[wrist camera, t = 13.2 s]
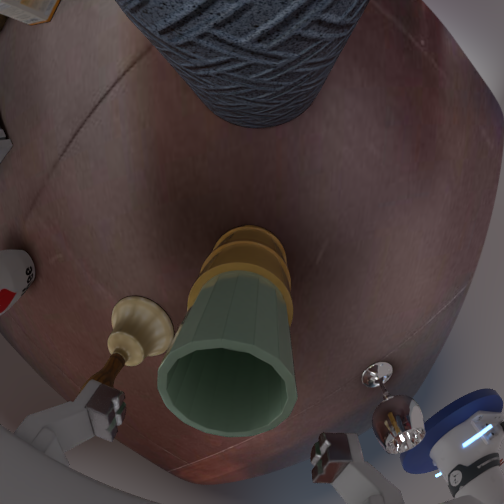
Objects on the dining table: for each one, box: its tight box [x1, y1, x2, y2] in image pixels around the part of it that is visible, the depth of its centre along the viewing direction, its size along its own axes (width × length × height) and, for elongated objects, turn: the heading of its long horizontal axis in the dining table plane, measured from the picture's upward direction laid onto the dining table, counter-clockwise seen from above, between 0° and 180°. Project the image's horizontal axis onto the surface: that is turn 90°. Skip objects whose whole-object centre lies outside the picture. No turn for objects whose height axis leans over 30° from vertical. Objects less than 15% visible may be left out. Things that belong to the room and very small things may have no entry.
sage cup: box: [158, 270, 298, 437], centre depth 16 cm, size 6×6×8 cm
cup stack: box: [187, 225, 293, 326], centre depth 25 cm, size 8×8×11 cm
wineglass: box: [361, 362, 426, 454], centre depth 28 cm, size 6×6×12 cm
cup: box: [0, 249, 35, 316], centre depth 27 cm, size 8×8×10 cm
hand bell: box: [79, 296, 174, 394], centre depth 26 cm, size 8×8×16 cm
